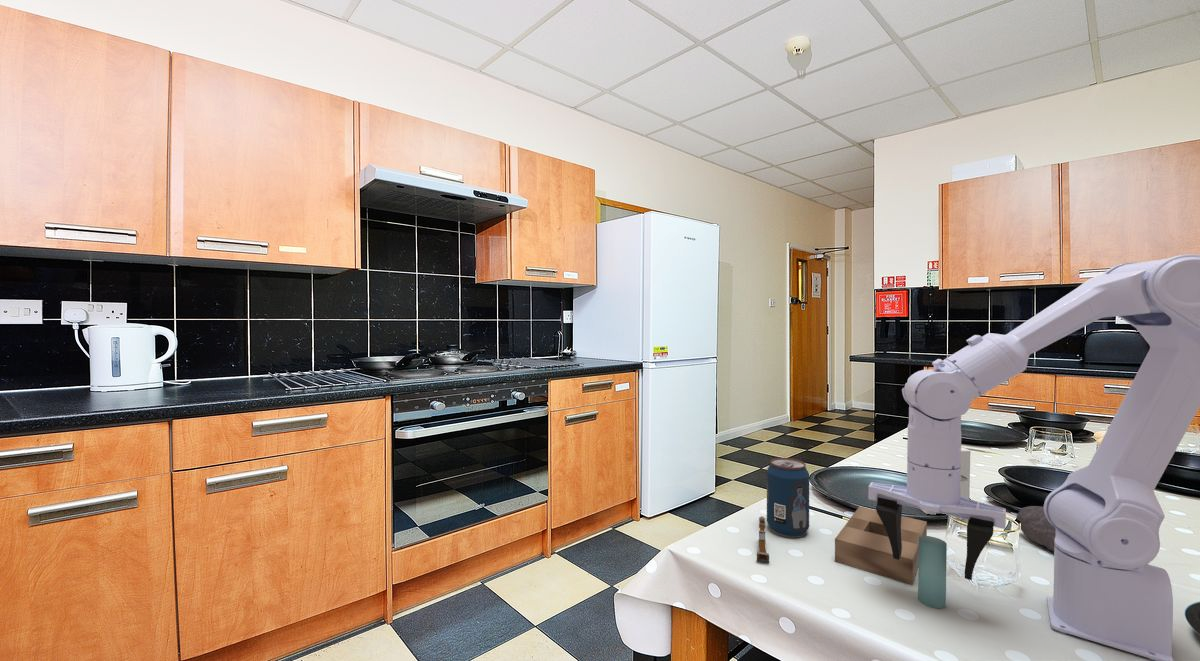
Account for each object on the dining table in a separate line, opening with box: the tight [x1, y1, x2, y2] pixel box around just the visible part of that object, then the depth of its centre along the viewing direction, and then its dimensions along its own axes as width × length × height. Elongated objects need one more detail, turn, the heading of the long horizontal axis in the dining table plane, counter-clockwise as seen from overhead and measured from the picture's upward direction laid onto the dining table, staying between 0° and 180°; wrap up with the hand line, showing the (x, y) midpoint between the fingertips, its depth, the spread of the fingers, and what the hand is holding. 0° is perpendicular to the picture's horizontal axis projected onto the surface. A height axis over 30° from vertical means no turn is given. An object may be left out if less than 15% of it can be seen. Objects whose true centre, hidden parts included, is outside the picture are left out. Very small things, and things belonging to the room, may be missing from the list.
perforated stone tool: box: [1015, 505, 1056, 553], centre depth 74 cm, size 15×5×7 cm, turn 6°
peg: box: [917, 535, 948, 609], centre depth 62 cm, size 3×3×8 cm
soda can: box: [766, 457, 810, 539], centre depth 83 cm, size 7×7×12 cm
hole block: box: [834, 506, 928, 585], centre depth 76 cm, size 10×16×4 cm, turn 140°
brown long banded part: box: [756, 515, 770, 563], centre depth 77 cm, size 2×8×4 cm, turn 162°
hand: (931, 565), depth 62 cm, fingers open, 7 cm apart
